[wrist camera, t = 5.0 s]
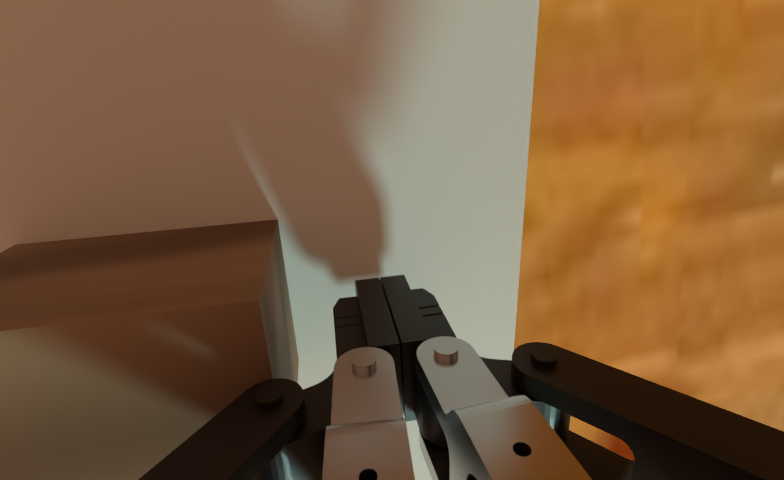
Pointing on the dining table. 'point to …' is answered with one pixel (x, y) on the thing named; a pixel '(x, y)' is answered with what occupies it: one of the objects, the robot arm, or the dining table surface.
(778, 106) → the dining table surface
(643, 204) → the dining table surface
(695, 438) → the robot arm
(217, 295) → the walnut block
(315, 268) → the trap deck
